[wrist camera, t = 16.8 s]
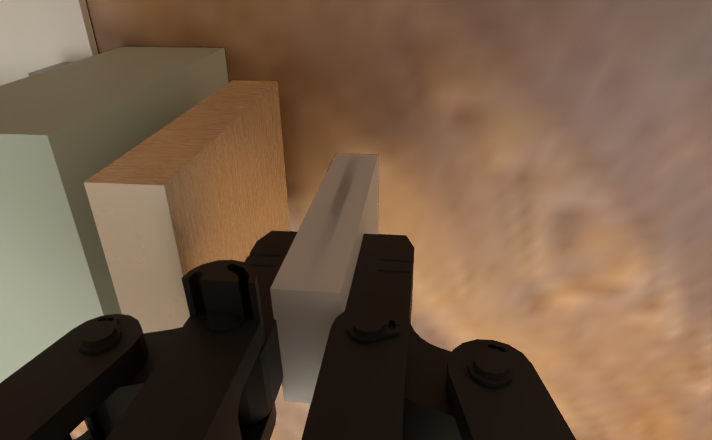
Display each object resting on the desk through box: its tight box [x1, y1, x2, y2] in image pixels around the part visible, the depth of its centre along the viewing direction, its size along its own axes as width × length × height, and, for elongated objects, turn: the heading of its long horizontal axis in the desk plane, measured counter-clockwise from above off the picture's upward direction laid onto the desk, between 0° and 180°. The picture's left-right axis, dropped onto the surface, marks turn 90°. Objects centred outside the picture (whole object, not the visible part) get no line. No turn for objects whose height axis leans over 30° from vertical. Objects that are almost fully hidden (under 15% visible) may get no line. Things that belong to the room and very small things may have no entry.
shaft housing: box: [0, 47, 229, 383], centre depth 16 cm, size 7×4×10 cm, turn 1°
